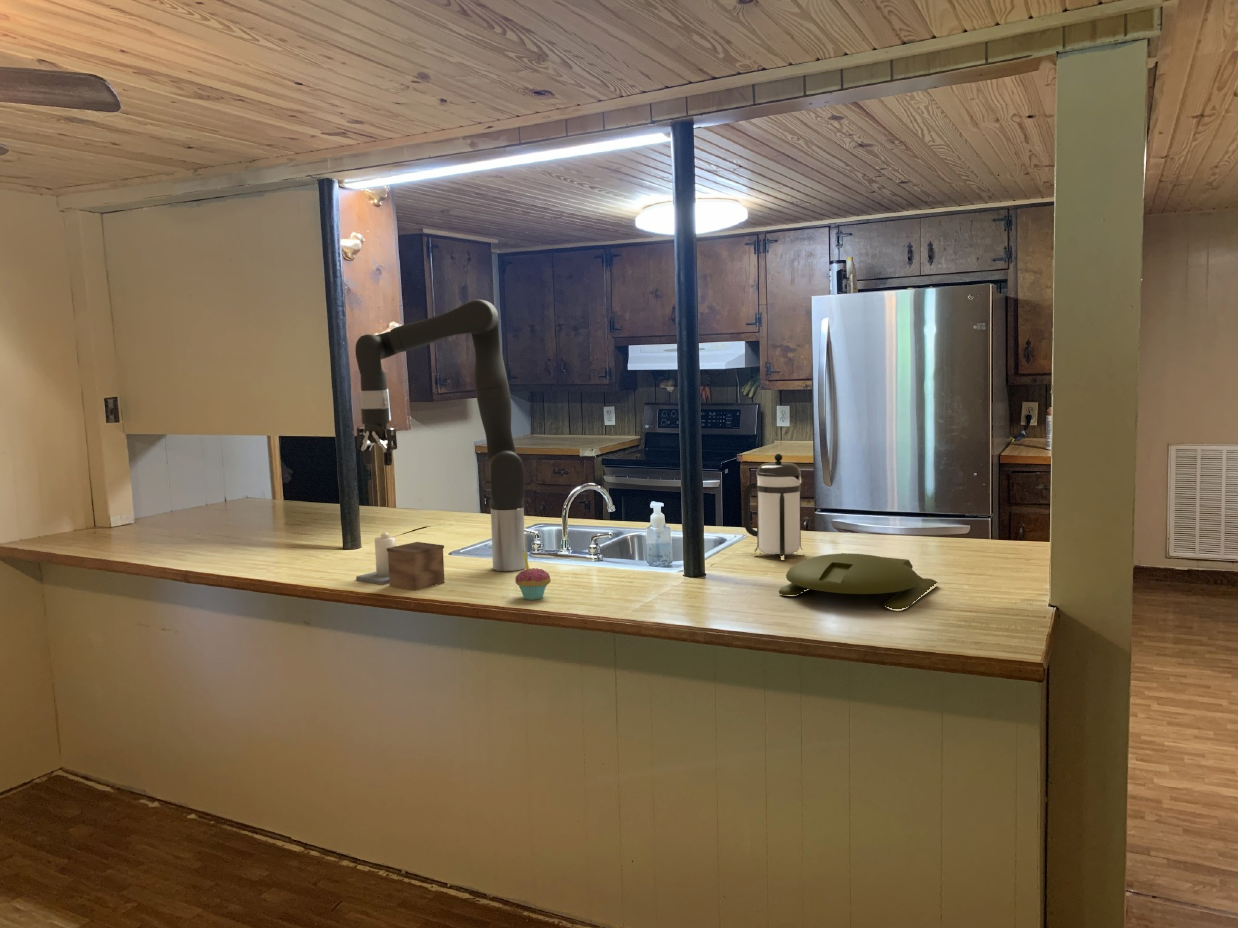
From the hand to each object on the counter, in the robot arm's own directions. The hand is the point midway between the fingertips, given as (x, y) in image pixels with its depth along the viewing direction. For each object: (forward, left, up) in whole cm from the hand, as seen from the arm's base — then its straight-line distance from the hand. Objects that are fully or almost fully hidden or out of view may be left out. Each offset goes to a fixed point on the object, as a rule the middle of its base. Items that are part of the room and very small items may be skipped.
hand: (377, 464), depth 251 cm
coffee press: (-72, +87, -30) cm, 117 cm away
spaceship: (-40, +123, -31) cm, 133 cm away
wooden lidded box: (+7, +22, -30) cm, 38 cm away
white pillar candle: (+6, +9, -29) cm, 31 cm away
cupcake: (+2, +58, -30) cm, 65 cm away
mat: (+6, +9, -30) cm, 32 cm away
